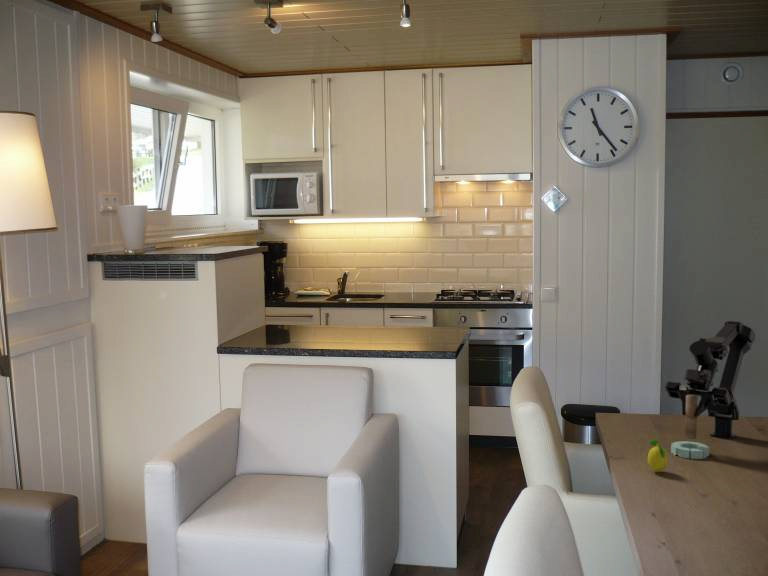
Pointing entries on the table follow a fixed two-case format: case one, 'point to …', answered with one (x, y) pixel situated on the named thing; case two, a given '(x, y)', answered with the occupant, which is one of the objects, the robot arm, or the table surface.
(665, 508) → the table surface
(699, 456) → the ring
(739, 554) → the table surface
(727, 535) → the table surface
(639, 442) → the table surface
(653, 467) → the lemon
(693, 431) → the dowel
